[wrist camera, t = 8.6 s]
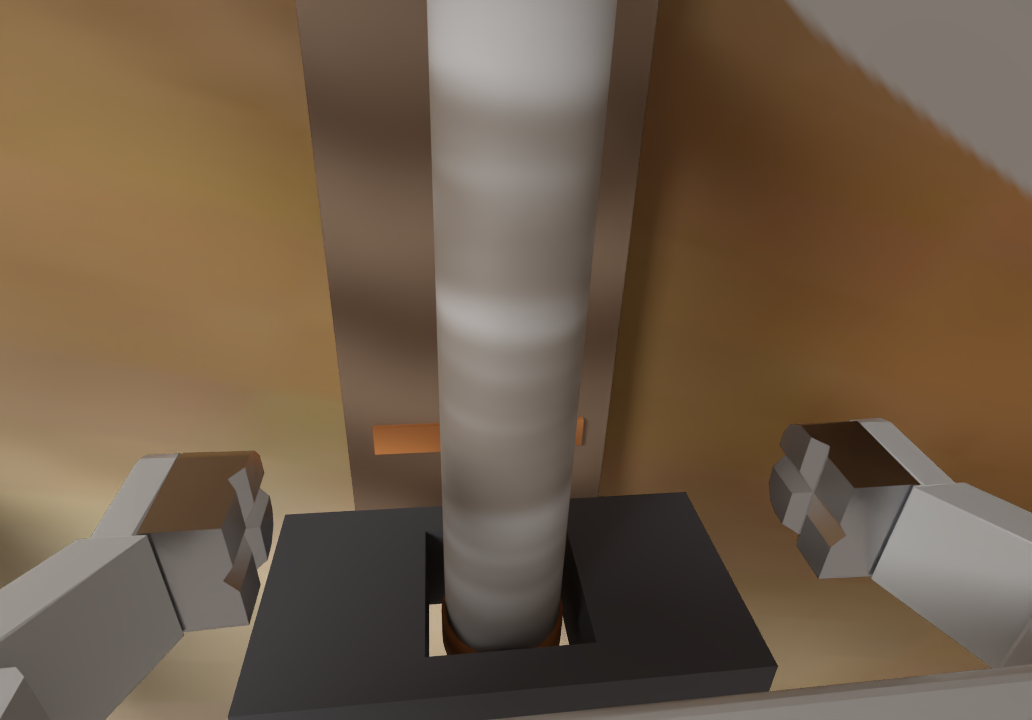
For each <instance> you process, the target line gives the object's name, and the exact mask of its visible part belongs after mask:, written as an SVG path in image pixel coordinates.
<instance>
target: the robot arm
mask: <svg viewBox="0 0 1032 720" xmlns="http://www.w3.org/2000/svg"><path fill="white" fill-rule="evenodd" d="M780 446H781V448H782V450H783V452H784V453H785V456H784V457H783V458H782V459H781V460H780V461H779V462H777V463H776V464H775V465H774V466H773V469H772V473H771V477H770V481H769V490H770V500H771V503H772V506H773V508H774V511H775V513H776V515H777V516H778V518H779V520H780V521H781V523H782V524H783V525H785V526H786V527H788V528H790V529H791V530H793V531H794V532H796V533H798V539H797V544H796V546H797V547H798V549H799V550H800V552H801V553H802V555H803V556H804V558H805V559H806V561H807V562H808V564H809V565H810V567H811V568H812V570H813V571H814V573H815V574H816V576H817V577H818V579H826V578H845V577H865V576H872V577H871V579H872V580H873V581H875V582H876V583H877V584H879V585H880V586H881V587H883V588H884V589H885V590H887V591H888V592H889V593H891V594H892V595H894V596H895V597H896V598H898V599H899V600H900V601H902V602H903V603H904V604H906V605H907V606H908V607H910V608H911V609H913V610H914V611H915V612H917V613H918V614H919V615H921V616H922V617H923V618H925V619H926V620H927V621H929V622H930V623H932V624H933V625H934V626H936V627H937V628H938V629H940V630H941V631H942V632H944V633H945V634H946V635H948V636H949V637H951V638H952V639H953V640H955V641H956V642H957V643H959V644H960V645H961V646H963V647H964V648H965V649H967V650H968V651H969V652H971V653H972V654H974V655H975V656H976V657H978V658H979V659H980V660H982V661H983V662H984V663H986V664H987V665H988V666H990V667H991V668H992V669H982V670H972V671H962V672H952V673H943V674H933V675H923V676H913V677H903V678H894V679H884V680H874V681H865V682H855V683H845V684H836V685H826V686H816V687H807V688H797V689H787V690H777V691H768V692H758V693H748V694H739V695H729V696H719V697H710V698H700V699H690V700H680V701H670V702H660V703H650V704H640V705H631V706H621V707H611V708H601V709H591V710H581V711H571V712H562V713H552V714H542V715H532V716H522V717H512V718H502V719H492V720H1032V513H1031V512H1029V511H1027V510H1024V509H1022V508H1020V507H1018V506H1016V505H1013V504H1011V503H1009V502H1007V501H1004V500H1002V499H1000V498H998V497H995V496H993V495H991V494H989V493H987V492H984V491H982V490H980V489H978V488H975V487H973V486H971V485H969V484H967V483H955V482H954V481H953V480H952V479H950V478H949V477H948V476H947V475H946V474H945V473H944V472H943V471H942V470H941V469H940V468H939V467H938V466H937V465H936V464H935V463H933V462H932V461H931V460H930V459H929V458H928V457H927V456H926V455H925V454H924V453H923V452H922V451H921V450H920V449H919V448H918V447H916V446H915V445H914V444H913V443H912V442H911V441H910V440H909V439H908V438H907V437H906V436H905V435H904V434H903V433H902V432H901V431H899V430H898V429H897V428H896V427H895V426H894V425H893V424H892V423H891V422H889V421H887V420H884V419H882V418H870V419H857V420H850V421H841V422H823V423H805V424H790V425H789V426H788V428H787V429H786V430H785V431H784V433H783V436H782V439H781V442H780ZM263 475H264V470H263V466H262V462H261V459H260V455H259V454H258V453H257V452H255V451H230V452H196V453H183V454H180V453H174V454H149V455H145V456H143V457H142V458H140V459H138V461H137V462H136V463H135V465H134V467H133V468H132V470H131V472H130V473H129V475H128V476H127V478H126V480H125V481H124V483H123V485H122V486H121V488H120V489H119V491H118V493H117V494H116V496H115V498H114V499H113V501H112V502H111V504H110V506H109V507H108V509H107V511H106V512H105V514H104V515H103V517H102V519H101V520H100V522H99V524H98V525H97V527H96V528H95V530H94V532H93V533H92V535H91V537H90V538H89V539H77V540H75V541H74V542H72V543H71V544H69V545H68V546H66V547H65V548H63V549H62V550H60V551H58V552H57V553H55V554H54V555H52V556H51V557H49V558H48V559H46V560H45V561H43V562H42V563H40V564H38V565H37V566H35V567H34V568H32V569H31V570H29V571H28V572H26V573H25V574H23V575H21V576H20V577H18V578H17V579H15V580H14V581H12V582H11V583H9V584H8V585H6V586H4V587H3V588H1V589H0V720H105V719H106V718H107V717H108V716H109V715H110V714H111V713H112V712H113V711H114V710H115V709H116V707H117V706H118V705H119V704H120V703H121V702H122V701H123V700H124V699H125V698H126V697H127V696H128V695H129V694H130V692H131V691H132V690H133V689H134V688H135V687H136V686H137V685H138V684H139V683H140V682H141V681H142V680H143V679H144V678H145V676H146V675H147V674H148V673H149V672H150V671H151V670H152V669H153V668H154V667H155V666H156V665H157V664H158V663H159V662H160V660H161V659H162V658H163V657H164V656H165V655H166V654H167V653H168V652H169V651H170V650H171V649H172V648H173V647H174V646H175V644H176V643H177V642H178V641H179V640H180V639H181V638H182V637H183V636H184V634H183V632H188V631H198V630H207V629H216V628H225V627H235V626H244V625H249V624H250V620H251V617H252V613H253V610H254V606H255V603H256V599H257V596H258V592H259V589H260V581H259V577H258V573H257V569H258V568H259V567H260V566H261V565H262V564H263V563H265V562H266V561H267V560H268V556H269V552H270V548H271V544H272V534H273V513H272V505H271V501H270V496H269V495H268V494H266V493H265V492H264V491H263V490H262V489H260V484H261V481H262V478H263Z"/></svg>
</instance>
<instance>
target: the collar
mask: <svg viewBox="0 0 1032 720" xmlns="http://www.w3.org/2000/svg"><path fill="white" fill-rule="evenodd" d="M444 595H445V575H444V543H443V511H442V506H431V507H413V508H396V509H378V510H360V511H343V512H325V513H307V514H290V515H285V518H284V521H283V525H282V528H281V532H280V536H279V539H278V543H277V546H276V550H275V553H274V557H273V560H272V564H271V567H270V571H269V574H268V578H267V581H266V585H265V588H264V592H263V595H262V599H261V602H260V606H259V609H258V613H257V616H256V620H255V623H254V627H253V630H252V634H251V637H250V641H249V644H248V648H247V651H246V655H245V659H244V662H243V666H242V669H241V673H240V676H239V680H238V683H237V687H236V690H235V694H234V697H233V701H232V704H231V708H230V711H229V715H228V719H229V720H492V719H502V718H512V717H522V716H532V715H542V714H552V713H562V712H571V711H581V710H591V709H601V708H611V707H621V706H631V705H640V704H650V703H660V702H670V701H680V700H690V699H700V698H710V697H719V696H729V695H739V694H748V693H758V692H768V691H769V690H770V687H771V684H772V681H773V678H774V676H775V673H776V670H777V667H778V665H777V663H776V661H775V660H774V658H773V656H772V654H771V652H770V650H769V648H768V646H767V645H766V643H765V641H764V639H763V637H762V635H761V633H760V631H759V629H758V628H757V626H756V624H755V622H754V620H753V618H752V616H751V614H750V613H749V611H748V609H747V607H746V605H745V603H744V601H743V599H742V598H741V596H740V594H739V592H738V590H737V588H736V586H735V584H734V582H733V581H732V579H731V577H730V575H729V573H728V571H727V569H726V567H725V566H724V564H723V562H722V560H721V558H720V556H719V554H718V552H717V550H716V549H715V547H714V545H713V543H712V541H711V539H710V537H709V535H708V534H707V532H706V530H705V528H704V526H703V524H702V522H701V520H700V518H699V517H698V515H697V513H696V511H695V509H694V507H693V505H692V503H691V502H690V500H689V498H688V496H687V494H686V492H678V493H660V494H643V495H625V496H607V497H590V498H572V499H570V502H569V513H568V523H567V534H566V544H565V555H564V565H563V576H562V586H561V600H562V606H563V618H564V623H565V628H566V632H567V637H568V641H569V645H562V646H551V647H539V648H527V649H515V650H504V651H492V652H480V653H468V654H457V655H445V656H433V657H429V604H442V602H443V598H444Z"/></svg>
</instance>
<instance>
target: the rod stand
mask: <svg viewBox="0 0 1032 720" xmlns="http://www.w3.org/2000/svg"><path fill="white" fill-rule="evenodd" d="M295 2H296V10H297V19H298V27H299V36H300V44H301V53H302V61H303V70H304V78H305V87H306V95H307V104H308V112H309V121H310V129H311V137H312V146H313V154H314V163H315V171H316V180H317V188H318V197H319V205H320V214H321V222H322V231H323V239H324V248H325V256H326V265H327V273H328V282H329V290H330V299H331V307H332V316H333V324H334V333H335V341H336V350H337V358H338V367H339V375H340V384H341V392H342V401H343V409H344V418H345V426H346V435H347V443H348V452H349V460H350V469H351V477H352V486H353V494H354V502H355V511H360V510H378V509H396V508H413V507H431V506H442V511H443V543H444V575H445V595H444V598H443V602H442V632H443V643H444V647H445V650H446V653H447V655H457V654H468V653H480V652H492V651H504V650H515V649H527V648H539V647H551V646H559V643H560V636H561V626H562V616H563V606H562V600H561V586H562V576H563V565H564V555H565V544H566V534H567V523H568V513H569V502H570V499H572V498H590V497H598V493H599V485H600V477H601V469H602V461H603V452H604V444H605V436H606V428H607V420H608V412H609V404H610V395H611V387H612V379H613V371H614V363H615V355H616V347H617V338H618V330H619V322H620V314H621V306H622V298H623V290H624V281H625V273H626V265H627V257H628V249H629V241H630V232H631V224H632V216H633V208H634V200H635V192H636V184H637V175H638V167H639V159H640V151H641V143H642V135H643V127H644V118H645V110H646V102H647V94H648V86H649V78H650V70H651V61H652V53H653V45H654V37H655V29H656V21H657V12H658V4H659V0H295Z"/></svg>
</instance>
